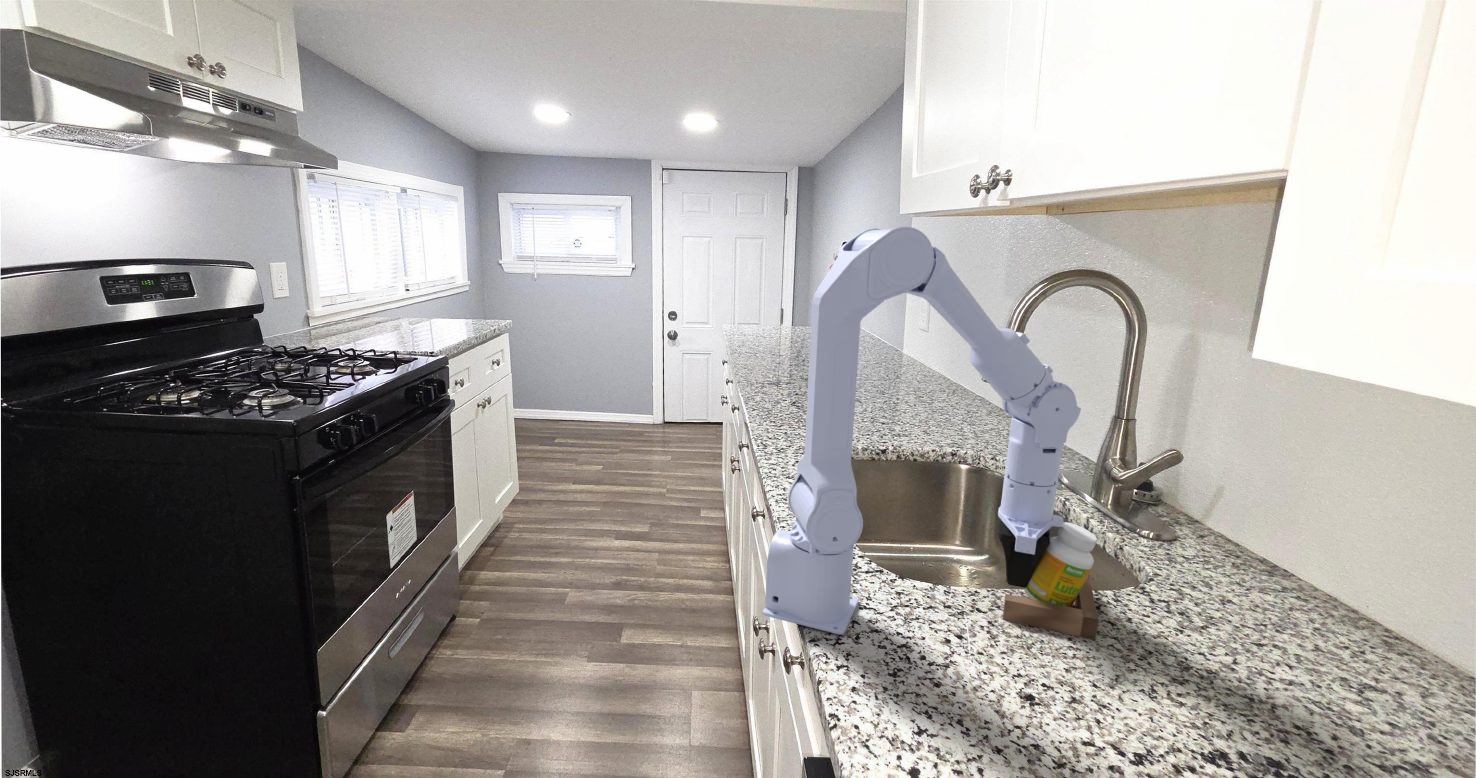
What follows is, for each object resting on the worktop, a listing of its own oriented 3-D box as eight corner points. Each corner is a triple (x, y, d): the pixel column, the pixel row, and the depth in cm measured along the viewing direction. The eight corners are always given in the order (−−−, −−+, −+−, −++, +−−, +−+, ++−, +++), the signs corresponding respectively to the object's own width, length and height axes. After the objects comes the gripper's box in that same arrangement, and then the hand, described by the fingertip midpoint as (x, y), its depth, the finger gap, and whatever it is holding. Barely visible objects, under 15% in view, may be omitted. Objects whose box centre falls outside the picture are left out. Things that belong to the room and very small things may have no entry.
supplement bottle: (1044, 614, 75) (1080, 542, 72) (1013, 585, 80) (1045, 516, 77) (1078, 615, 77) (1114, 546, 74) (1046, 587, 82) (1079, 520, 79)
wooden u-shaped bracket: (1002, 619, 75) (1005, 599, 75) (1004, 576, 85) (1006, 559, 85) (1095, 639, 72) (1098, 619, 71) (1086, 593, 82) (1088, 574, 81)
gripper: (1073, 505, 69) (1056, 621, 71) (1064, 465, 82) (1050, 564, 85) (1001, 494, 71) (987, 606, 74) (1003, 456, 84) (992, 553, 87)
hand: (1016, 583), depth 80 cm, fingers closed, pressing on supplement bottle
